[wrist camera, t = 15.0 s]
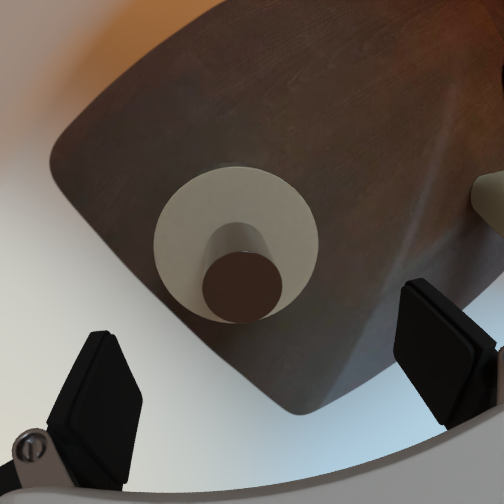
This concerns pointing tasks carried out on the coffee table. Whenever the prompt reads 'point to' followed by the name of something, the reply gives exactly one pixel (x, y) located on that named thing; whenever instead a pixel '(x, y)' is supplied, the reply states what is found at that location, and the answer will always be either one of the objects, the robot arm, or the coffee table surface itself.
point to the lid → (235, 244)
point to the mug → (490, 200)
